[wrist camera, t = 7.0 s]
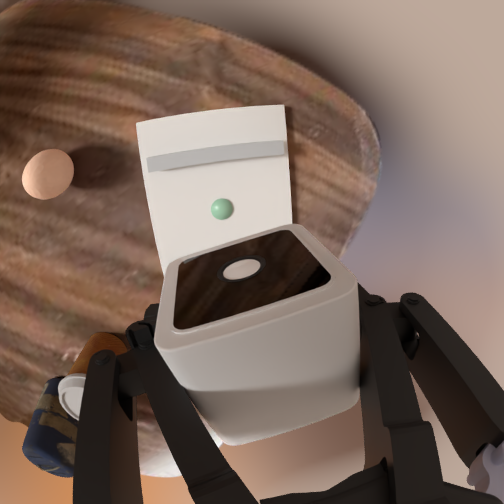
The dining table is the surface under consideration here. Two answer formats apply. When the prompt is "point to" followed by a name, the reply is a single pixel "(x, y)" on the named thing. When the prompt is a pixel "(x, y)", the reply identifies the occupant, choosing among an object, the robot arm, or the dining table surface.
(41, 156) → the egg
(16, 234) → the dining table surface
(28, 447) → the canister
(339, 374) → the white rounded plastic box
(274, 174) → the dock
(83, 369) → the disposable coffee cup
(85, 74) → the dining table surface
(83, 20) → the dining table surface
